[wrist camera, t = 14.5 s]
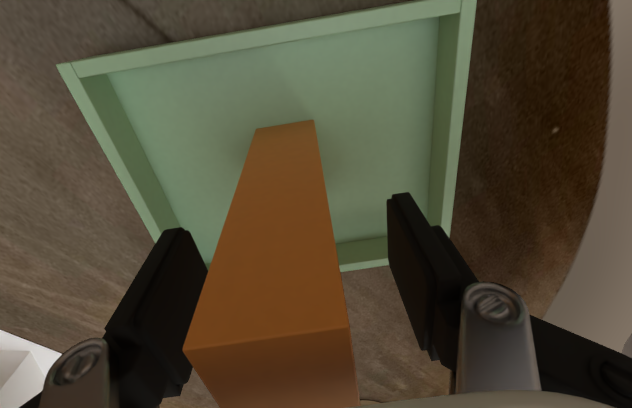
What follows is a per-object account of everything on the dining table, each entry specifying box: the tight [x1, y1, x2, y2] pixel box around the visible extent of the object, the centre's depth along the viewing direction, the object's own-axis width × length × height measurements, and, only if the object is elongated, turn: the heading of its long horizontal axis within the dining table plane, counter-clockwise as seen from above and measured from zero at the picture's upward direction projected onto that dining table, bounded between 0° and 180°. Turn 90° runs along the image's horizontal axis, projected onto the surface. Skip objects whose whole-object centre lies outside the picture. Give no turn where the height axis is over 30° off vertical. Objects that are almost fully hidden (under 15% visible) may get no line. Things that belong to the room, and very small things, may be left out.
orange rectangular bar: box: [183, 120, 361, 408], centre depth 12 cm, size 3×4×12 cm, turn 8°
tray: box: [56, 0, 477, 272], centre depth 16 cm, size 16×13×2 cm
